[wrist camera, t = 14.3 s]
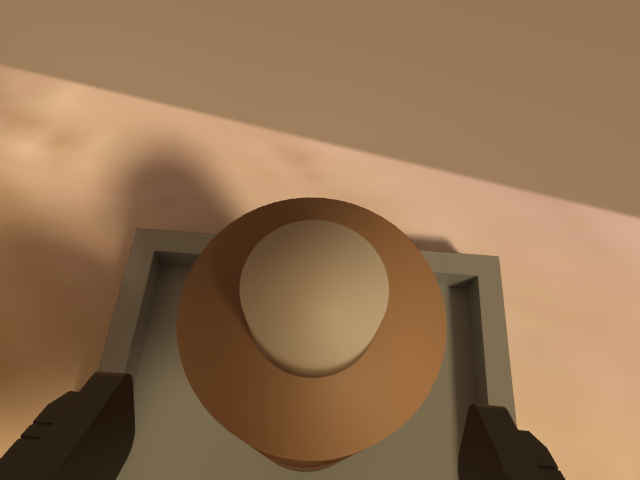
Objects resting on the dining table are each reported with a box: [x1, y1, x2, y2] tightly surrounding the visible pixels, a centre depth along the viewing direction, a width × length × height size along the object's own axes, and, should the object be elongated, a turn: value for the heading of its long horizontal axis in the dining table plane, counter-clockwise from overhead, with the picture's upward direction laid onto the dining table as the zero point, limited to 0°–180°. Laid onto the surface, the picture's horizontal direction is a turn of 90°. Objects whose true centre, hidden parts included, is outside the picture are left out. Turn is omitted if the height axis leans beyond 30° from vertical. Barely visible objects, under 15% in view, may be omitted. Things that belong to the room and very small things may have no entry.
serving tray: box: [98, 228, 517, 480], centre depth 20 cm, size 16×13×2 cm
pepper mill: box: [177, 198, 446, 472], centre depth 14 cm, size 5×5×13 cm
